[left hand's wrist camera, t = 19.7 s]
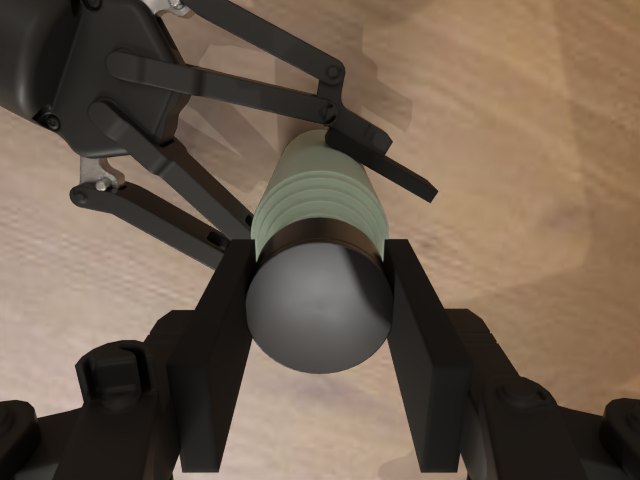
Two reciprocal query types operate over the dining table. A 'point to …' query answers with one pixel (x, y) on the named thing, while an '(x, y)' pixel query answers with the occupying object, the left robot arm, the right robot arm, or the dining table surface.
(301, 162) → the bottle
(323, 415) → the dining table surface
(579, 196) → the dining table surface
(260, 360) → the dining table surface
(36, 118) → the right robot arm
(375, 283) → the cap
